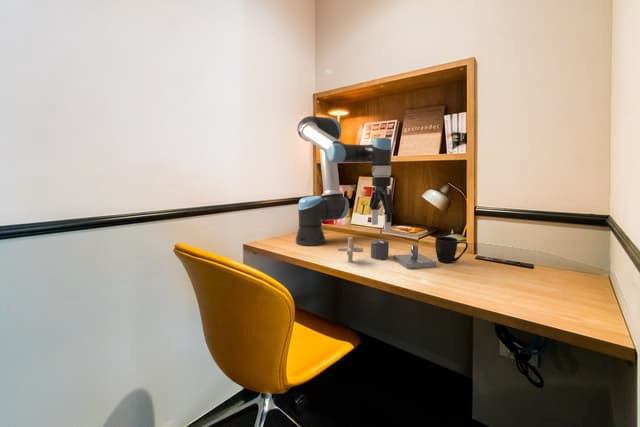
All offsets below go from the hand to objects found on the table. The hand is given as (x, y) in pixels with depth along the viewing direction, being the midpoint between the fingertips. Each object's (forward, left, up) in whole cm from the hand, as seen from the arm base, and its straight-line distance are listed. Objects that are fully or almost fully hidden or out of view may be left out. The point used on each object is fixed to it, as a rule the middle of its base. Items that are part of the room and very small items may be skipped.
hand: (380, 227), depth 133 cm
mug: (+13, +25, -13) cm, 31 cm away
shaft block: (+11, +10, -13) cm, 20 cm away
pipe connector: (+3, -14, -13) cm, 20 cm away
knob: (0, 0, -13) cm, 13 cm away
